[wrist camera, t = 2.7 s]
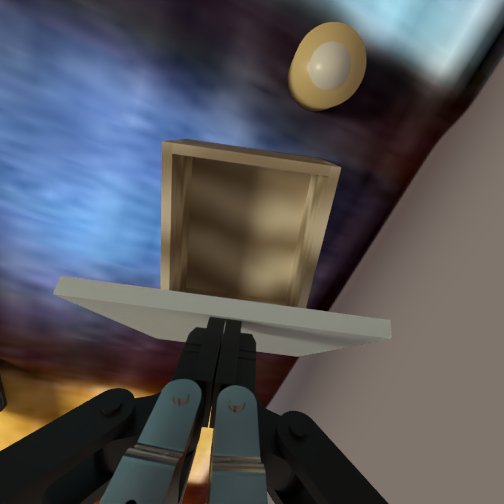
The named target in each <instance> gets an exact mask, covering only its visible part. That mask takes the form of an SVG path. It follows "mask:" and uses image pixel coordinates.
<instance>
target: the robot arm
mask: <svg viewBox="0 0 504 504" xmlns="http://www.w3.org/2000/svg"><path fill="white" fill-rule="evenodd" d="M224 326H225V330H224ZM241 326H242V321H236V320H229V319H226V324H225V319H221V318H213V317H209V320H208V324H207V328H201V327H195V328H194V329H193V330H192V331H191V332H190V333H189V335H188V337H187V340H186V343H185V346H184V348H183V352H182V354H181V357H180V359H179V362H178V365H177V368H176V370H175V373H174V376H173V379H172V381H171V382H170V383H169V384H167V385H166V386H165V387H164V388H163V390H162V391H161V392H159V393H157V394H155V395H151V396H146V397H140V398H134V396H133V394H132V393H131V392H130V391H128V390H126V389H122V388H115V389H110V390H107V391H105V392H103V393H101V394H99V395H97V396H96V397H94V398H92V399H90V400H89V401H87V402H85V403H83V404H82V405H80V406H78V407H76V408H75V409H73V410H71V411H69V412H68V413H66V414H64V415H62V416H61V417H59V418H57V419H56V420H54V421H52V422H50V423H49V424H47V425H45V426H43V427H42V428H40V429H38V430H36V431H35V432H33V433H31V434H29V435H28V436H26V437H24V438H22V439H21V440H19V441H17V442H15V443H14V444H12V445H10V446H9V447H7V448H5V449H3V450H2V451H0V504H93V503H94V502H95V501H96V500H98V499H99V498H100V497H101V496H102V495H103V497H102V499H101V501H100V503H99V504H181V502H182V499H183V495H184V492H185V488H186V485H187V481H188V477H189V474H190V470H191V467H192V463H193V460H194V456H195V453H196V448H197V444H198V442H199V438H200V433H201V428H202V427H207V428H208V423H209V417H210V412H211V418H210V426H209V428H214V429H213V438H212V446H211V455H210V466H209V477H208V489H207V500H206V504H268V499H267V492H268V493H269V495H270V497H271V498H272V500H273V501H274V503H275V504H388V503H387V501H385V499H384V498H383V497H382V496H381V495H380V494H379V493H378V492H377V490H376V489H375V488H374V487H373V486H372V485H371V484H370V483H369V482H368V481H367V479H366V478H365V477H364V476H363V475H362V474H361V473H360V472H359V471H358V470H357V468H356V467H355V466H354V465H353V464H352V463H351V462H350V461H349V460H348V459H347V457H346V456H345V455H344V454H343V453H342V452H341V451H340V450H339V449H338V447H337V446H336V445H335V444H334V443H333V442H332V441H331V440H330V439H329V438H328V436H327V435H326V434H325V433H324V432H323V431H322V430H321V429H320V428H319V427H318V425H317V424H316V423H315V422H314V421H313V420H312V419H311V418H310V417H309V416H307V415H306V414H304V413H302V412H298V411H289V412H286V413H284V414H283V415H282V416H280V415H278V414H276V413H274V412H272V411H269V410H268V409H266V408H265V407H264V406H263V405H262V404H261V403H260V402H259V400H258V399H257V396H256V393H255V374H256V341H255V339H254V337H253V335H252V334H248V333H241ZM211 406H212V409H211Z"/></svg>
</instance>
